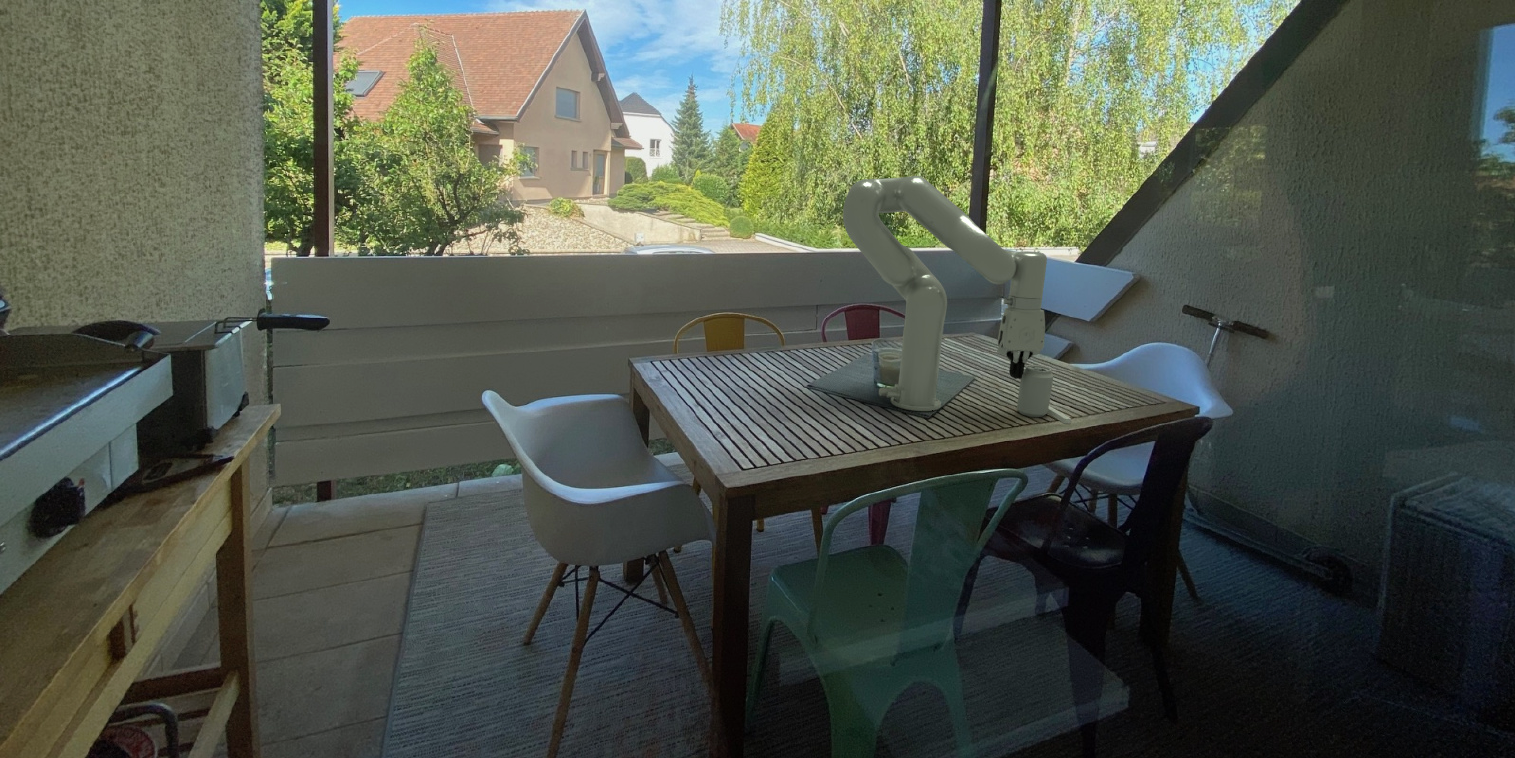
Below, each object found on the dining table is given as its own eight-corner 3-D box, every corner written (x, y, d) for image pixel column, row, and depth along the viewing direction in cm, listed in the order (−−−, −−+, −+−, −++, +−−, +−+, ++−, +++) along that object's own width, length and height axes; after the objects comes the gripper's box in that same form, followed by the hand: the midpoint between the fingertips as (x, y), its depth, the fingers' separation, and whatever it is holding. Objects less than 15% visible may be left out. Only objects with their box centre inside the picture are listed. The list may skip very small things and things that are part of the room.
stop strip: (1064, 423, 187) (1065, 418, 186) (1029, 401, 204) (1029, 397, 204) (1070, 423, 187) (1071, 418, 187) (1035, 401, 204) (1035, 397, 204)
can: (1049, 419, 189) (1056, 372, 186) (1017, 416, 191) (1024, 369, 188) (1045, 410, 197) (1052, 365, 193) (1014, 407, 198) (1020, 362, 195)
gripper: (1002, 306, 181) (993, 381, 186) (1061, 306, 183) (1051, 381, 188) (988, 300, 188) (980, 373, 193) (1046, 301, 190) (1037, 373, 195)
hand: (1015, 377), depth 190 cm, fingers closed
